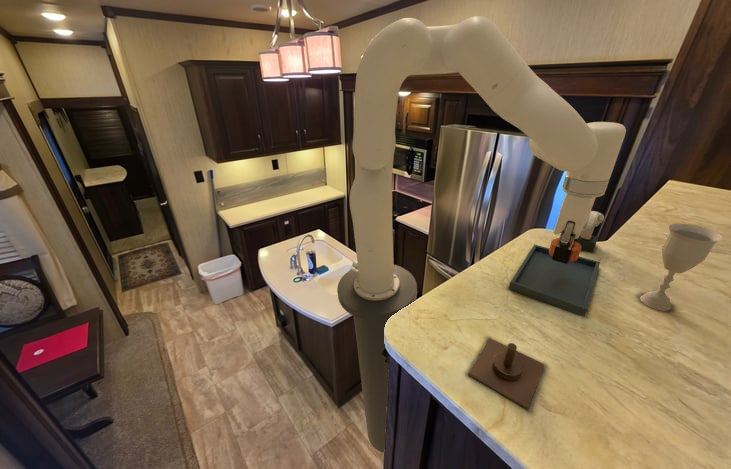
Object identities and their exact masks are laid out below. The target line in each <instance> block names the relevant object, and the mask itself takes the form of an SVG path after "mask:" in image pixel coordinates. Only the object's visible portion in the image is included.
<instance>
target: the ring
mask: <svg viewBox="0 0 731 469" xmlns="http://www.w3.org/2000/svg"><path fill="white" fill-rule="evenodd" d="M558 240H559V237H556V238H553V239H552V240H551V243H550V245H549V248H550V249H549V254H550V255H551V256H552V257H553V254H554V250H555V247H556V245H557V243H558ZM570 241H571V239H569V241H568V242H570ZM581 248H582V246H581V245H580V244H579V243H578V242H576V241H574V242H573V245H572V248H571V249H572V252H571V255H570V258H569V261H570V262H572V261H576V260H577V259H578V257H579V256H580V254H581V251H582V250H581ZM569 261H568V262H569Z"/></svg>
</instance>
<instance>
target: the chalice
mask: <svg viewBox="0 0 731 469" xmlns="http://www.w3.org/2000/svg"><path fill="white" fill-rule="evenodd" d="M668 229H669V233H668V234H667V236H666V238H665V240H664V243H663V244H662V246H661V258H662V264H663V267H664V269H665V270H667V271H668V272H667V273H666V274H665V275H664V276H663V277H662V278H663V281H661V282H659V283H658V285H659V289H655V290H654V289H653V290H649V291H647V292H645V293H643V294H642V295H641V296H640V297H639V300H640V301H641V302H642V303H643V304H644V305H646V306H647V307H650V309H651V308H652V309H654V310H658V311H665V312H666V311H670V310H671V309H672V306H671V299H670V297H669V295H668V294H666V290H668V289H671V285H670V283H672V282H674V280H675V279H674V276H675V275H676V274H683V273H685V272H687V271H689V270H692V269H694V268H695V267H697V266H698V265H699V264H701V263H702V262H704V261H705V260H706V259H707V257H708V256H709V254H710V252H711V251H712V249H713V247H714V245H715V244H717V243H718V242H721V241H722V240H723V236H722V235H721V234H719V233H718V232H716V231H714V230H711V229H709V228H707V227H702V226H699V225H695V224H690V223H671V224H669V226H668Z"/></svg>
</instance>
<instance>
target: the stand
mask: <svg viewBox="0 0 731 469" xmlns="http://www.w3.org/2000/svg"><path fill="white" fill-rule="evenodd" d="M544 366H545V363H543V362H540V361H538V360H536V359H534V358H532V357H531V356H528V355H526V354H524V353H523V352H519V351H518V346H517V345H516V344H515V343H514V342H513V343H512V342H509V343H508V344H507V345H505V344H503V343H501V342H499V341H497V340H495V339H493V338H490V337H488V338H487V340H486V341H485V343H484V345H483V347H482V348H481V350H480V352H479V354H478V356H477V357H476V359H475V360H474V362H473V364H472V366H471V367H470V369H469V371H468V372H467V375H468V376H469V377H471V378H472V379H475V380H476V381H478V382H480V383H482V384H483V385H485V386H487V387H488V388H490V389H492V390H493V391H496V392H497V393H499V394H500V395H502V396H504V397H506V398H507V399H509V400H511V401H512V402H513V403H516V404H518V405H519V406H521V407H522V408H525V409H526V410H529V408H530V405H531V402H532V400H533V397H534V394H535V392H536V391H535V390H536V389H537V385H538V383H539V380H540V378H541V375H542V372H543V369H544Z"/></svg>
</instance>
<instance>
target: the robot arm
mask: <svg viewBox="0 0 731 469" xmlns="http://www.w3.org/2000/svg"><path fill="white" fill-rule="evenodd" d="M454 73H455V74H456V73H459V75H461V77H462V78H463V79H464V80H465V81H466V82H467V83H468V84H469V85H470V87H472V89H473V90H474V91H475V92H476V93H477V94H478V95H479V96H480V98H482V99H483V101H484V103H486V104H487V105H488V107H489V108H490V109H491V110H492V111H493V112H494V113H495V114H496V115H498V116H499V117H500V118H501V119H502V120H504V121H506V122H508V123H509V124H511V125H512V126H514V127H516V128H517V129H518V130H520V131H521V132H522V133H523V134H524V135H526V136H527V137H528V138H529V140H528V148H529V150H530V152H531V154H532V155H534V156H535V157H536V158H538V159H540V160H541V161H543V162H545V163H547V164H548V165H550V166H551V167H553V168H555V169H556V170H559V171H562V172H566V173H565V175H564V176H565V177H564V180H563V184H562V188H561V190H562V191H563V192H564V193H565V195H564V198H563V201H562V203H561V206H560V210H559V213H558V216H557V221H556V222H555V226H554V229H553V234H554V235H558V236H559V237H558V238H559V240H558V243H557V245H556V247H555V250H554V254H553V257H552V260H554V261H557V262H561V263H565V264H567V263H568V261H569V258H570V255H571V252H572V249H571V248H572V245H573V242H574V241H577V238H578V237H579V236H580V234H581V233H582V230H583V229H584V226H585V224H586V222H587V219H588V217H589V215H590V212H591V211H592V209H593V206H594V204H595V201H596V199H597V198H600V197H602V196H604V195H605V193H606V191H607V188H608V185H609V182H610V179H611V177H612V173H613V170H614V167H615V165H616V162H617V160H618V156H619V154H620V151H621V148H622V146H623V142H624V140H625V137H626V132H627V129H626V126H625V125H623V124H622V123H619V122H611V121H593V122H586V121H585V120H584V118H583V117H582V116H581V115H580V113H578V111H577V110H576V109H575V108H574V107H573V106H572V105H571V104H570V103H569V102H568V101H567V100H566V99H565V98H563V97H562V96H561V95H559V94H558V93H557V92H556V91H555V90H554V89H553V88H551V86H549V84H547V83H546V82H545V81H544V80H543V79H542V78H540V77H539V76H538V75H537V74H536V73H535V72H534V71H533V69H532V68H530V66H529V65H528V63H526V61H525V60H524V59H523V58H522V56H521V55H520V54H519V52H517V50H516V49H515V47H514V46H513V45H512V44H511V43H510V41H509V40H508V39H507V38H506V37H505V35H504V34H503V33H502V32H501V31H500V29H499V28H498V27H497V25H496V24H495V23H494V22H493V21H491V20H490V19H489V18H488V17H485V16H483V15H474V16H471V17H467V18H466V19H464V20H462V21H461V22H459V23H455V24H447V25H436V26H427V25H426V24H425V23H424V22H422V21H421V20H420V19H418V18H414V17H404V18H400V19H397V20H396V21H394V22H391V23H390V24H388V25H387V26H385V27H384V28H382V29H381V30H380V31H379V32H378V33H377V34H376V35H374V37H373V38H372V39H371V40H370V41H369V43H368V45H367V46H366V47H365V49H364V51H363V53H362V55H361V57H360V60H359V63H358V65H357V70H356V78H355V86H354V88H355V89H354V106H353V107H354V109H353V134H352V144H351V145H352V146H351V148H352V154H353V157H354V158H355V176H354V180H353V182H352V185H351V188H350V193H349V209H350V215H351V220H352V226H353V235H354V236H353V237H354V242H355V243H354V244H355V253H356V260H354V261H353V262H352V267H350V268H349V271H350V272H352V273H355V274H356V279H355V281H354V289H355V292H356V293H357V294H358V295H359V296H360V297H362V298H364V299H367V300H372V301H379V300H385V299H388V298H390V297H392V296H394V295H395V294H396V293H397V292H398V290H399V287H400V281H399V278H398V277H397V276H396V275H395V274H394V265H395V264H394V234H393V233H394V230H393V169H394V156H395V151H396V143H397V141H396V121H397V111H398V102H399V94H400V91H401V90H400V89H401V87H402V84H403V83H404V81H405V80H406V78H407V77H409V76H421V75H443V74H454ZM569 239H571V241H570V242H568V241H569ZM355 268H357V269H355Z"/></svg>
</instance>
